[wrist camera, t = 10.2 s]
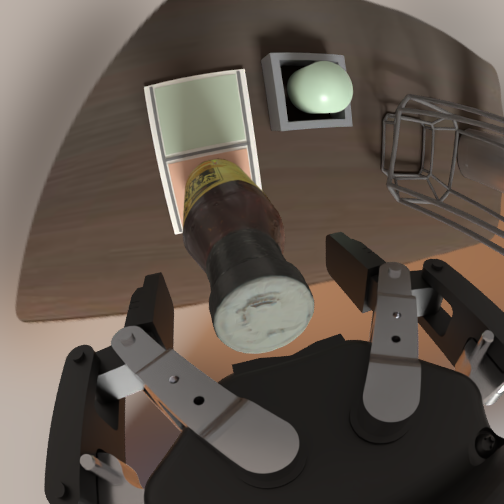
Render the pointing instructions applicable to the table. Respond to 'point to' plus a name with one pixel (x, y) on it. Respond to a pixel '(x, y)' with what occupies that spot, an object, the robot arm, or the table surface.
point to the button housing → (277, 96)
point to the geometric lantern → (422, 197)
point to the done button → (320, 88)
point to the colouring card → (200, 130)
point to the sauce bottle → (243, 259)
